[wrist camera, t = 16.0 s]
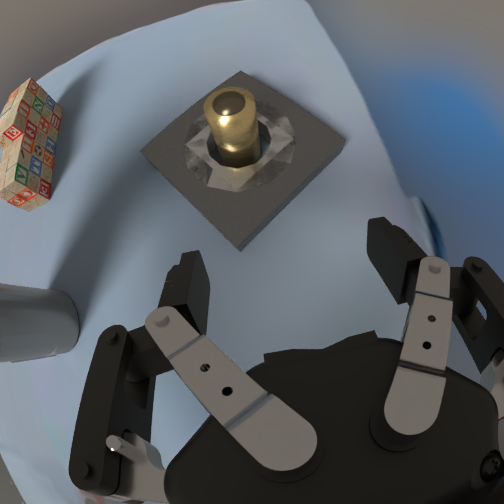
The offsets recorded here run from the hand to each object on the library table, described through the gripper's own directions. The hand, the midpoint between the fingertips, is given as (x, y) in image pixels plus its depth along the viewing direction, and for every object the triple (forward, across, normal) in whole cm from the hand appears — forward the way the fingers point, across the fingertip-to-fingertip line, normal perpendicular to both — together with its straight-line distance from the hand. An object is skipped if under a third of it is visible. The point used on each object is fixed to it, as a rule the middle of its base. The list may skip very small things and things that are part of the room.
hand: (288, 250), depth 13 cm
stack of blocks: (+33, -38, +8) cm, 51 cm away
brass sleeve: (+24, -2, -1) cm, 24 cm away
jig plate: (+24, -2, -1) cm, 24 cm away
